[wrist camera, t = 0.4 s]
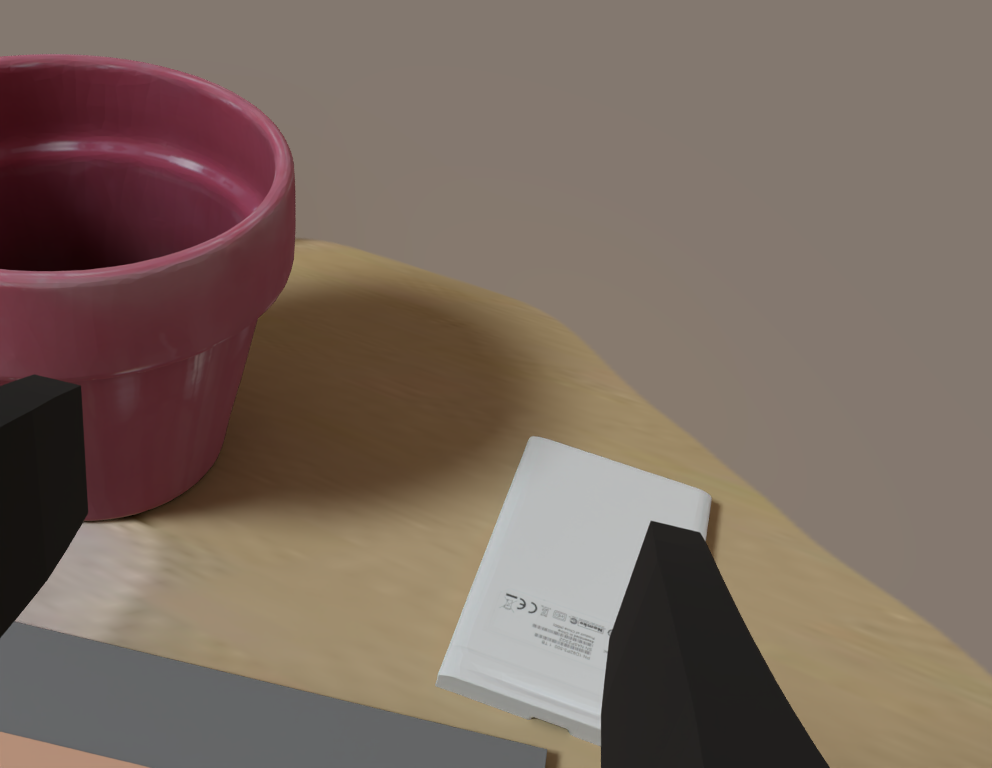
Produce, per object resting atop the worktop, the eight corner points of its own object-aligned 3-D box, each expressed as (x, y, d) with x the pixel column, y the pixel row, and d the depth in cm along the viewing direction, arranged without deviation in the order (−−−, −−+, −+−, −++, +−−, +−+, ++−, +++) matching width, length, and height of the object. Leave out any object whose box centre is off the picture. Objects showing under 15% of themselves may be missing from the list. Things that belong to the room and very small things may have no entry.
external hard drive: (702, 518, 40) (663, 779, 31) (523, 458, 41) (431, 694, 32) (714, 492, 39) (677, 755, 30) (530, 432, 40) (438, 668, 31)
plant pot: (-154, 389, 36) (-269, 76, 28) (183, 292, 45) (170, 28, 36) (-19, 654, 29) (-120, 340, 21) (353, 481, 38) (384, 206, 29)
